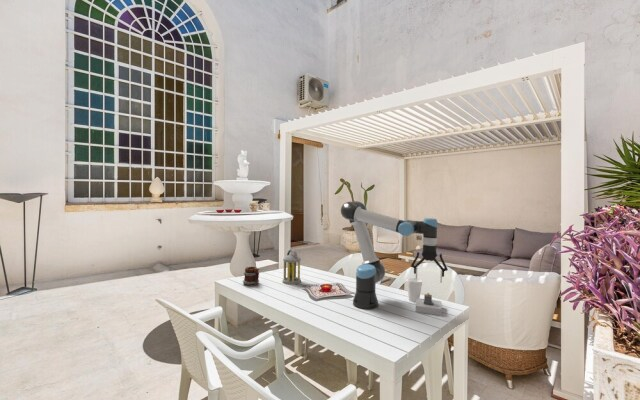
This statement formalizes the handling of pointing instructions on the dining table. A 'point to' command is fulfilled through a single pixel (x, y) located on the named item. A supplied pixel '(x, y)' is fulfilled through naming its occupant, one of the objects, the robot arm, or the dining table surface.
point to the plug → (427, 299)
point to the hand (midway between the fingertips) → (428, 280)
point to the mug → (251, 276)
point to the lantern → (291, 268)
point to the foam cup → (414, 288)
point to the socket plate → (428, 307)
